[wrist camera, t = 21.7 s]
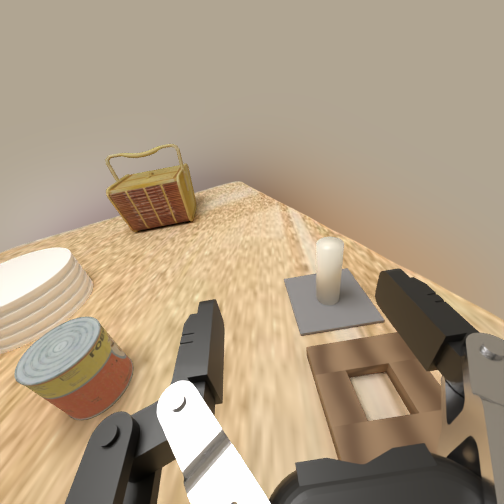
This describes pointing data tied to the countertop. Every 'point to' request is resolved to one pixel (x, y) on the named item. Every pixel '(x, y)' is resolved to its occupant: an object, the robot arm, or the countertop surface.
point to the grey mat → (330, 316)
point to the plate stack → (39, 294)
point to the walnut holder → (349, 408)
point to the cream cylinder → (328, 269)
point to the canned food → (76, 368)
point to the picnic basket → (153, 194)
